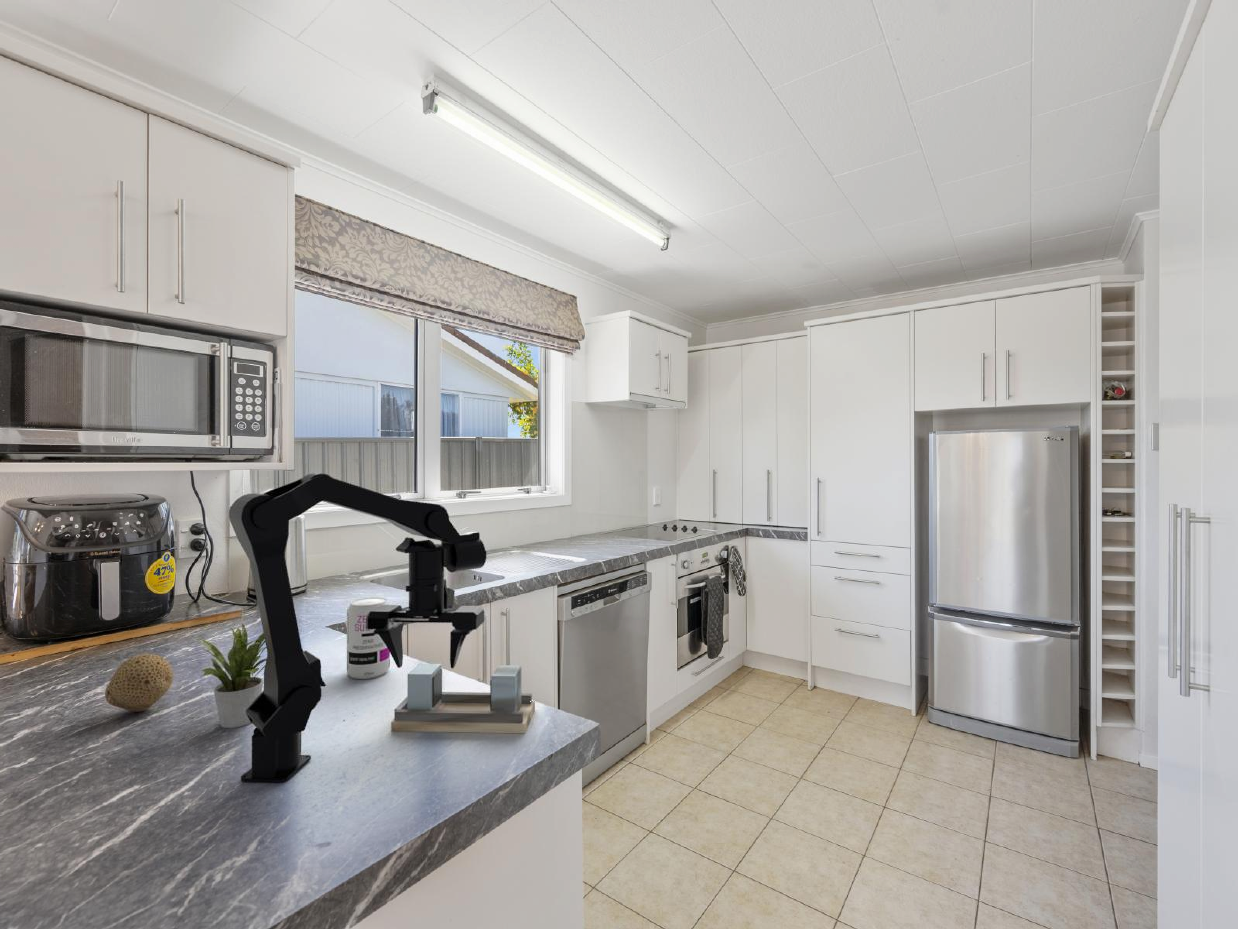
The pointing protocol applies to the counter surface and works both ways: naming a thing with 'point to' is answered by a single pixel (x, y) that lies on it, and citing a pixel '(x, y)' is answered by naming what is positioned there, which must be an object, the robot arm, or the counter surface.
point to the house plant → (236, 678)
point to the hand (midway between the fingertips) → (426, 667)
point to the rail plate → (474, 709)
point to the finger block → (424, 687)
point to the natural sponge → (139, 682)
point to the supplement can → (365, 642)
